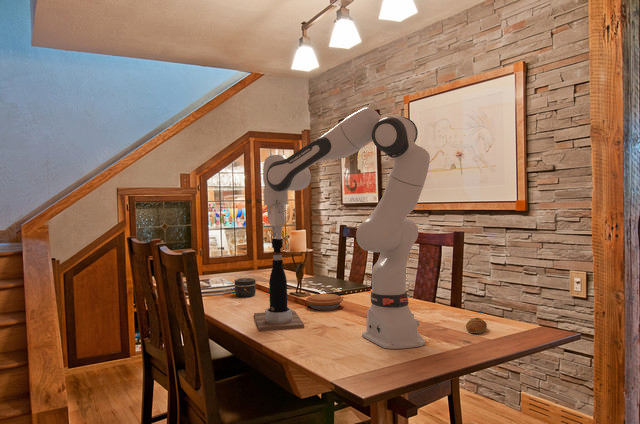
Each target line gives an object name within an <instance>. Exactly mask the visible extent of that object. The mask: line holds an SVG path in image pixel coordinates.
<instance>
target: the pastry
mask: <svg viewBox="0 0 640 424" xmlns="http://www.w3.org/2000/svg"><path fill="white" fill-rule="evenodd" d="M465 324H466V325H465V328H466V330H467V332H468V333H469V334H477V335H478V334H479V335H481V334H484V333H485V332H486V330H487V327H488V324H487V322H486V321H485V320H484V319H483V318H481V317H473V318H470V319H469V320H468V321H467V322H466V323H465ZM483 332H484V333H483Z"/></svg>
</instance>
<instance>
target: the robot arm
mask: <svg viewBox="0 0 640 424" xmlns="http://www.w3.org/2000/svg"><path fill="white" fill-rule="evenodd" d="M418 132H419V131H418V127H417V126H416V124H415V122H414V121H412V120H411V119H410V118H408V117H404V116H399V115H394V116H387V117H382V116H381V115H380V113H378V112H377V111H376V110H375V109H373V108H370V107H364V108H362V109H361V108H360V109H359V110H358V111H355V112H353V113H352V114H350V115H349V116H347V117H345V118H344V119H343V120H341V121H340V122H339V123H338V124H336V125H335V126H334V127H333V128H331V129H330V130H329V131H327V132H325V133H324V134H322V135H321V136H319V137H318V138H317V139H314V140H312V141H311V142H310V143H308V144H306V145H305V146H304V147H302V148H301V149H299V150H297V151H296V152H294V153H293V154H291V155H289V157H286V155H284V154H273V155H269V156H267V157H266V158H265V159H264V161H263V167H262V177H263V178H262V180H263V181H262V182H263V185H264V188H263V205H264V206H266V212H267V220H268V224H269V225H271V231H272V238H275V239H282V232H283V231H282V229H283V227H285V225H286V216H285V209H286V208H285V207H286V206H287V205H289V191H302V190H305V189H307V188H308V187H309V186H310V184H311V181H312V172H311V170H310V167H312V166H313V165H315V164H317V163H319V162H321V161H327V160H339V159H341V160H342V159H345V158H347V157H350V156H352V155H354V154H355V153H357V152H359V151H361V149H363V148H365V147H366V146H367V145H368V144H370V143H372V142H373V144H374V146H375V147H376V148H377V149H379V150H380V151H381V152H383V153H384V154H385V155H387V156H388V157H389V158H392V159H393V166H392V169H391V172H390V175H389V177H388V180H387V184H386V186H385V189H384V191H383V195H382V197H381V199H380V200H379V201H378V203H377V205H376V207H375V208H374V209H373V210H372V212H371V214H370V215H369V216H368V217H367V218H366V219H365V220H363V221H362V222H361V223H360V224H359V225H358V227H357V229H356V233H355V238H356V242H357V244H358V246H359V247H360V248H361V249H362V250H363V251H366V252H372V253H380V254H379V256H378V259H377V261H376V262H375V263H374V265H373V266H372V269H371V292H370V302H371V305H370V306H369V308H368V309H367V311H366V324H365V325H366V327H365V328H366V329H365V331H363V332H362V337H363V338H365V339H367V340H369V341H370V342H373V343H374V344H376V345H377V346H379V347H381V348H383V349H391V350H392V349H395V350H396V349H398V350H399V349H410V348H417V347H423V346H425V345H426V340H425V339H424V338H423V336H422V335H421V334H420V333H419V331H418V327H420V324H421V323H420V320H419V319H418V318H417V319H415V313H413V312H412V310H411V309H410V306H409V296H408V293H407V290H406V289H407V287H406V286H407V285H406V284H407V283H406V278H407V276H406V275H407V273H406V272H407V265H408V260H409V257H410V254H411V249H413V248H412V247H413V245H414V244H415V243H416V241H417V240H418V237H419V227H418V226H417V223H416V222H415V221H413V220H412V219H410V218H407V217H408V215H409V214H410V213H412V212H413V211H414V209H416V207H417V205H418V202H419V199H420V197H421V194H422V191H423V188H424V186H425V182H426V180H427V176H428V172H429V166H430V163H431V162H430V160H431V157H430V154H429V152H428V151H427V150H426V149H425V148H423V147H422V146H419V145H417V144H416V141H417V138H418Z"/></svg>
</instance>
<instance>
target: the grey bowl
mask: <svg viewBox="0 0 640 424" xmlns="http://www.w3.org/2000/svg"><path fill="white" fill-rule="evenodd" d="M292 310H293V309H292V307H290V306H289V307H288V306H287V311H285V312H270V307H268V308H265V310H264V312H265V321H266V322H267V323H271V324H284V323H288V322H291V321H292Z"/></svg>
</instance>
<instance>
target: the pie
mask: <svg viewBox="0 0 640 424" xmlns="http://www.w3.org/2000/svg"><path fill="white" fill-rule="evenodd" d="M343 300H344V297H342V296H339V295H338V294H335V293H316V294H312V295H310V296H308V297H306V302H307V304H308V305H309V306H310V307H311V309H313V310H315V311H316V310H317V311H332V310H336V309H339V306H340V304H341V303H342V302H343Z"/></svg>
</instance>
